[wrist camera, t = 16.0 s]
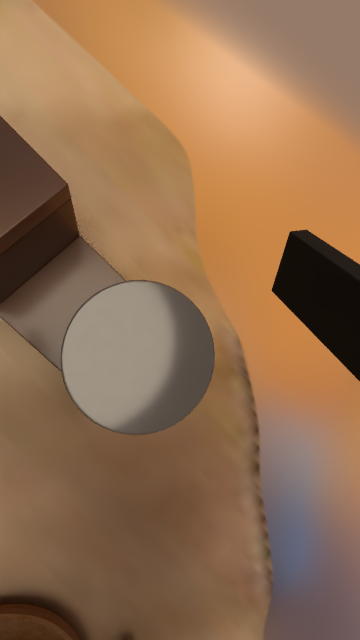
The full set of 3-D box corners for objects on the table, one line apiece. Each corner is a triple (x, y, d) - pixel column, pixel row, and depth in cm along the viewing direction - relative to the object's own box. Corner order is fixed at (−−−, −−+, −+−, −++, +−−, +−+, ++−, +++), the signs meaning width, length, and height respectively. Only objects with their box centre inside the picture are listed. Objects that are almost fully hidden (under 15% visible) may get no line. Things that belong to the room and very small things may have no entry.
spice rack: (-90, 223, 19) (-323, 76, 9) (-8, 165, 21) (-121, -19, 10) (114, 408, 22) (124, 467, 11) (174, 343, 23) (233, 340, 13)
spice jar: (67, 352, 18) (21, 360, 8) (122, 299, 19) (141, 249, 9) (123, 403, 18) (144, 469, 8) (173, 348, 19) (242, 351, 10)
